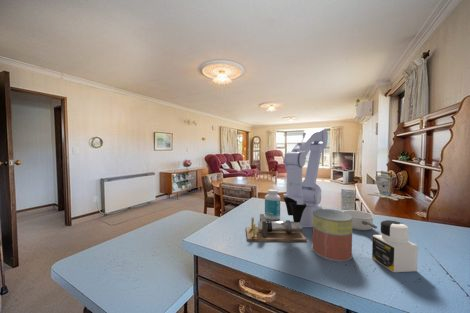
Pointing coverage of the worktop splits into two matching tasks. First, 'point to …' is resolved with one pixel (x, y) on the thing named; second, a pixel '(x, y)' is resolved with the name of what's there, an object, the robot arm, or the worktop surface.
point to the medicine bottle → (395, 247)
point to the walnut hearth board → (275, 236)
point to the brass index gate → (253, 227)
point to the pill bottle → (272, 205)
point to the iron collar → (263, 225)
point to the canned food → (332, 234)
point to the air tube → (281, 226)
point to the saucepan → (361, 220)
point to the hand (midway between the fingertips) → (293, 218)
